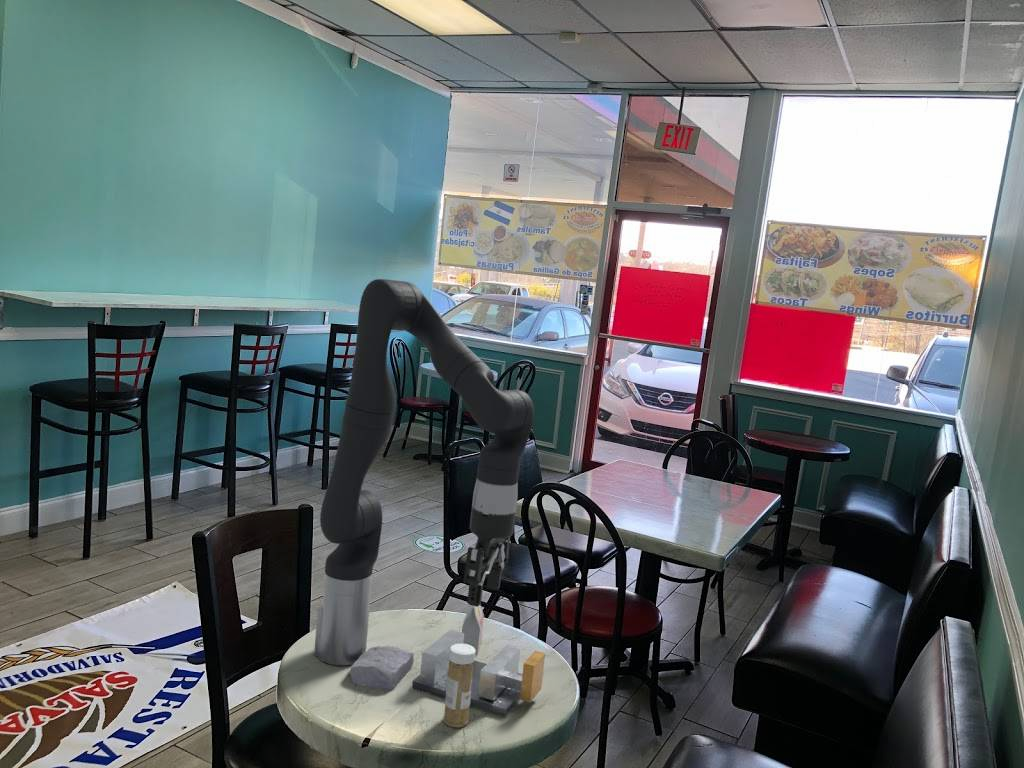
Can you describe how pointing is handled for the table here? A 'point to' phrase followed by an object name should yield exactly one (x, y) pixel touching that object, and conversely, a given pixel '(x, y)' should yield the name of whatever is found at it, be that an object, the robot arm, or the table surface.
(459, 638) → the vise
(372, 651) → the stone block
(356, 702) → the table surface
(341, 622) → the robot arm
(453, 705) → the sprinkles bottle
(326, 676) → the table surface
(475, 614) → the tea box
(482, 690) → the sliding jaw
